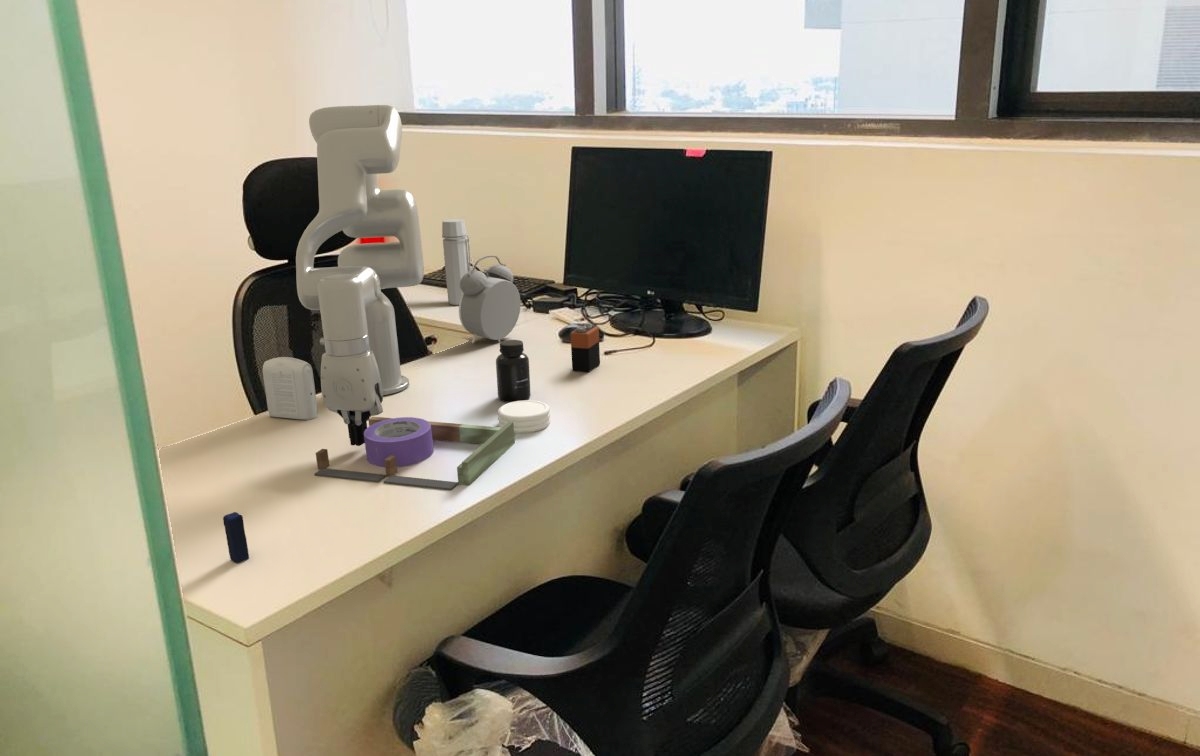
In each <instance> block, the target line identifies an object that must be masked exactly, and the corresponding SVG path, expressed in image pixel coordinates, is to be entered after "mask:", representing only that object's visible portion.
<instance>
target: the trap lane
mask: <svg viewBox="0 0 1200 756" xmlns="http://www.w3.org/2000/svg"><path fill="white" fill-rule="evenodd" d="M393 418H394V417H381V416H371V417H370V418H369V420H368V421H367V422H368V427H369V426H371V425H373V424H375V423H377V422H380V421H383V420H387V419H393ZM427 421H428V420H427ZM428 422H429V423H430V424H431V432H432V441H441V442H454V443H455V442H456V443H465V444H477V445H480V446H479V447H478V448H476V449H475V450H474V451H472V453H471V454H469V456H468V455H467V457H466V458H465V459H464V460H463V461H462V462H461V463H460V464H459V465H458V466H456V471H457V482H458V485H464V486H470V485H472V484H473V482H474V481H476V480H477V479H478V478H479V477H480V476H481V475H482V474H483V473H484V472H485V471H486V470H487V469H488V468H490V467H491V466H492V465H493V464H494V463H495V462H496V461H497V460H498V459H499V458H500V457H501V456H503V455H504V454H505V453H506V452H507V451H508V450H509V449H510V448H511V447H512V446H513V445H515V443H516V442H515V441H516V440H515V433H514V424H513V422H508V423H506V424H505V425H504V426H503V427H499V426H488V425H487V426H486V425H478V424H468V423H467V424H466V423H452V422H443V421H442V422H439V421H428ZM315 458H316V465H317V470H320V469H322V468H328V467H329V466H330V459H329V452H328V448H321V449H320V450H318V451H317V452H315ZM384 461H385V467H384V468H385V475H386V477H387V478H388V477H390V476H391V475H394V476H396V474H397V473H398V467H397V463H396V456H391V455H390V456H389V457H388V458H386V459H385V460H384Z"/></svg>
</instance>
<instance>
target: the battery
mask: <svg viewBox="0 0 1200 756" xmlns="http://www.w3.org/2000/svg"><path fill="white" fill-rule="evenodd" d="M570 346H571V347H570V349H571V367H572V368H571V369H572V371H573V372H580V371H581V373H582V372H583V373H590V372H591V371H592V370H594V369H595V368H596V367H598V366H600V363H601V356H600V355H601V354H600V352H601V351H600V329H599V327H598V326H594V325H593V326H592V323H590V322H589V323H588V322H587V323H584V325H579V326H577V327H576V329H574V330H573V331H571V332H570Z"/></svg>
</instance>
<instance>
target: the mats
mask: <svg viewBox="0 0 1200 756" xmlns="http://www.w3.org/2000/svg"><path fill="white" fill-rule="evenodd" d="M314 476H315V477H316V476H319V477H327V478H337V479H345V480H352V481H353V480H354V481H364V482H365V481H366V482H373V483H380V482H381V481H382V480H383V483H384V484H389V485H401V486H411V487H416V488H417V487H418V488H419V487H420V488H427V489H428V488H429V489H435V490H436V489H438V490H444V491H445V490H446V491H453V490H454V489H455V488H456V487H457V486H458V485H459V484H458V481H449V480H437V479H430V478H423V477H421V478H419V477H413V476H401V475H391V476H390V477H388V476H386V474H385V473H384V474H383V473H374V472H372V473H371V472H364V471H354V470H343V469H335V468H328V467H326V468H322V469H318V470H317V471H316V472H314ZM386 477H387V478H386ZM384 479H385V480H384Z"/></svg>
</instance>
